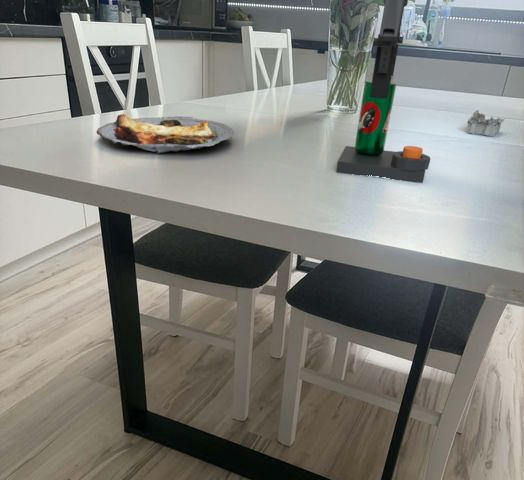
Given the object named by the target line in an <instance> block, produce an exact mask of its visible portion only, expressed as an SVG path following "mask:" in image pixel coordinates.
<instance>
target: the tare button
mask: <svg viewBox="0 0 524 480" xmlns="http://www.w3.org/2000/svg"><path fill="white" fill-rule="evenodd" d="M402 151H403V153H402V156H403V157H407V158H414V159H421V155H422V154H423V148H422V147H420V146H415V145H405V146H403V149H402Z"/></svg>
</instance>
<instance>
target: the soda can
mask: <svg viewBox="0 0 524 480" xmlns="http://www.w3.org/2000/svg"><path fill="white" fill-rule="evenodd" d="M367 75H368V77H367V78H366V79H365V81H364V85H363V91H362V99H361V104H360V111H359V117H358V123H357V129H356V136H355V144H354V147H355V151H356V152H357V153H358V154H360V155H364V156H379V155H381V154H382V153H383V152H384V150H385V146H386V142H387V141H386V140H387V136H388V130H389V125H390V120H391V114H392V110H393V104H394V100H395V99H394V98H395V94H396V88H397V82H396V76H395V75H394V74H393V75H392V76H391V82H390V88H389V94H388V99H386V98H374V97H370V91H371V85H372V78H373V73H368V74H367Z"/></svg>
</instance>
